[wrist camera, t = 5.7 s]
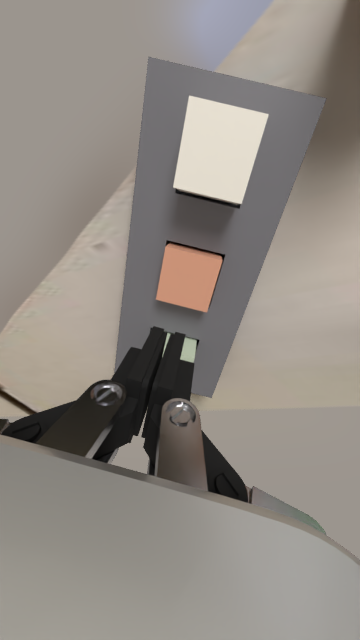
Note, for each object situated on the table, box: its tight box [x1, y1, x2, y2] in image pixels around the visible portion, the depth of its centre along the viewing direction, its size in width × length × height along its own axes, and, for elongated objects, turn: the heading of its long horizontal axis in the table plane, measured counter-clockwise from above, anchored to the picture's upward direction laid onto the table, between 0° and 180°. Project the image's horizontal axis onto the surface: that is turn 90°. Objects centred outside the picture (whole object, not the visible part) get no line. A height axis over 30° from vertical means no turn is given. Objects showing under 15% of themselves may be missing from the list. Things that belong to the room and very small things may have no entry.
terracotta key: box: [156, 241, 222, 312], centre depth 25 cm, size 6×6×5 cm
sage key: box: [162, 331, 197, 363], centre depth 29 cm, size 6×6×5 cm
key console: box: [114, 57, 327, 398], centre depth 27 cm, size 14×32×4 cm, turn 168°
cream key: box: [173, 96, 269, 205], centre depth 19 cm, size 6×6×5 cm
